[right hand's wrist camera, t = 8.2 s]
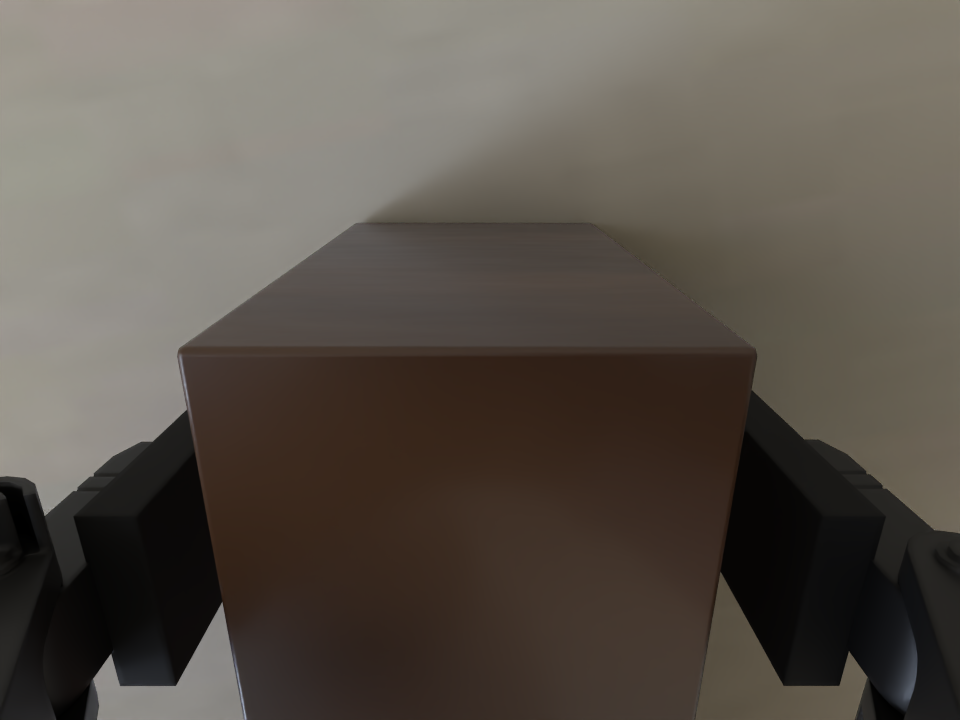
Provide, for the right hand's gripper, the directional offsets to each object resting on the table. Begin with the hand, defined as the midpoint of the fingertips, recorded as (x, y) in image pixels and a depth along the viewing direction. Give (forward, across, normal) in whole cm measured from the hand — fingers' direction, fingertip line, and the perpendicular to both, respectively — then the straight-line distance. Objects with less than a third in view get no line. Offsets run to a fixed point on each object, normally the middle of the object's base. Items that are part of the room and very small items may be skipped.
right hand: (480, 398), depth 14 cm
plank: (0, 0, +12) cm, 12 cm away
